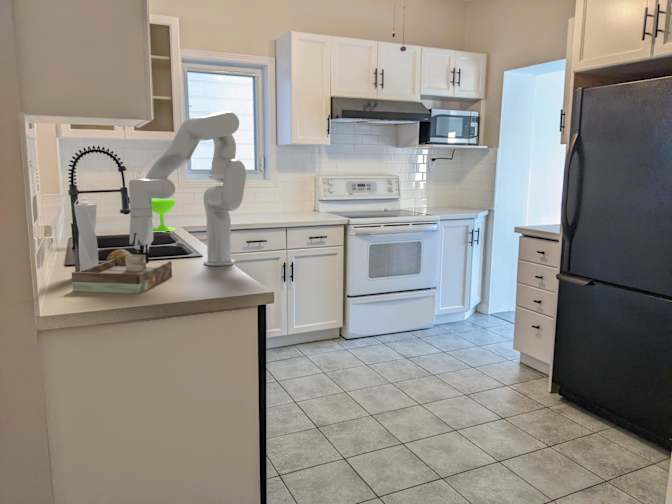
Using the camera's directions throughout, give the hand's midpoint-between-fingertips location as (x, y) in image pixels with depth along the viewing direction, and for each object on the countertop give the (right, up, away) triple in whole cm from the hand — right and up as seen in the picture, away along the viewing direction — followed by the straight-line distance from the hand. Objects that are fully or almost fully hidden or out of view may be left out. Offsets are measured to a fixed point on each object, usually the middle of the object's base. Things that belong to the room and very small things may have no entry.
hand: (143, 263), depth 194 cm
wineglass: (-33, +16, +120) cm, 126 cm away
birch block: (-1, -2, -6) cm, 6 cm away
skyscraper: (-20, -4, -1) cm, 20 cm away
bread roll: (-16, -1, +18) cm, 24 cm away
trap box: (-1, -7, -13) cm, 15 cm away
